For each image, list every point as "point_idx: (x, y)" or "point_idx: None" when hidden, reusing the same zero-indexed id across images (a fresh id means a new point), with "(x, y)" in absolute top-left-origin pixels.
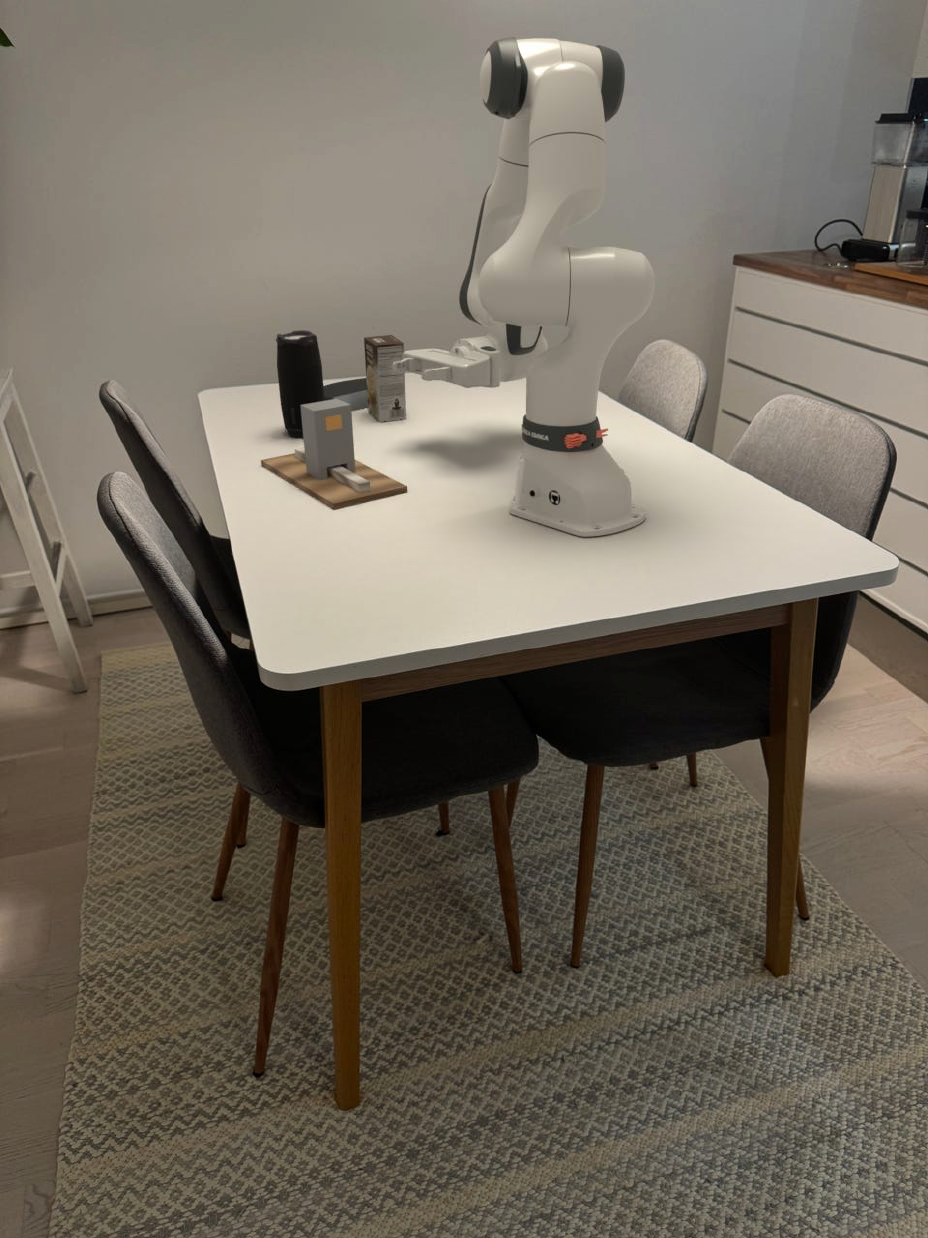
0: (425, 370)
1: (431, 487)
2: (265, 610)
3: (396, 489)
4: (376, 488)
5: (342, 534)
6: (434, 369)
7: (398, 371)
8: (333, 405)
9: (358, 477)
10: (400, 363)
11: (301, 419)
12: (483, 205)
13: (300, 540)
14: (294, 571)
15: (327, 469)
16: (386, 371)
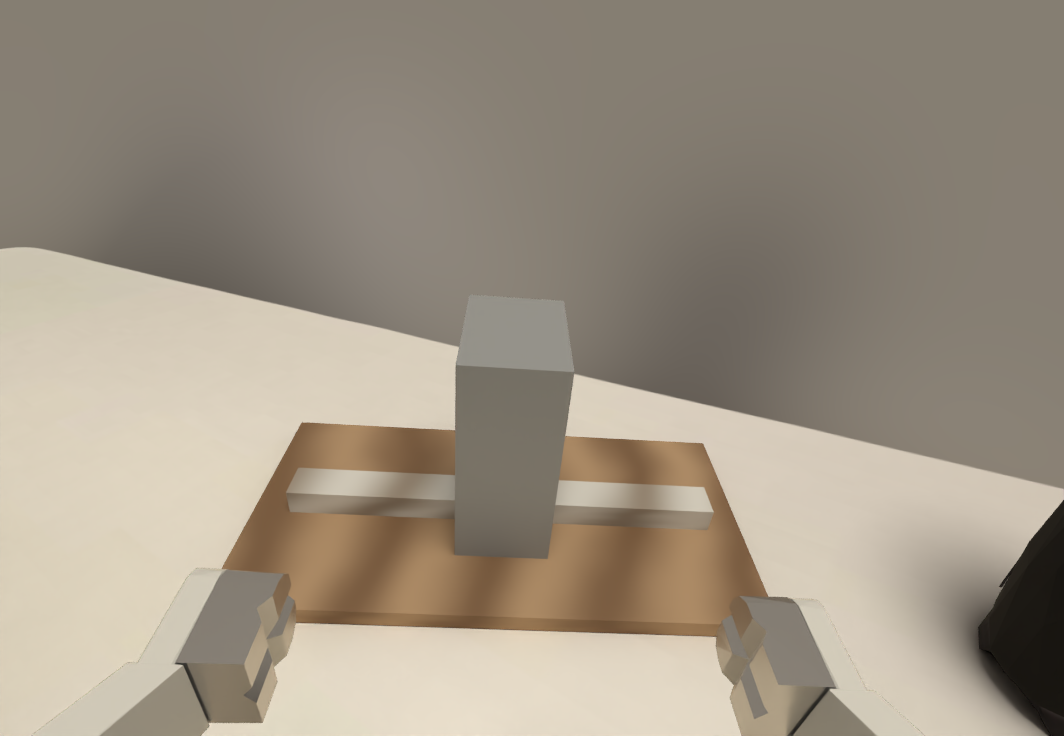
0: (224, 574)
1: None
2: (122, 273)
3: None
4: (283, 529)
5: (185, 394)
6: (136, 664)
7: (721, 647)
8: (490, 336)
9: (342, 488)
10: (761, 636)
11: (1005, 591)
12: None
13: (243, 352)
14: (163, 315)
15: None
16: None
